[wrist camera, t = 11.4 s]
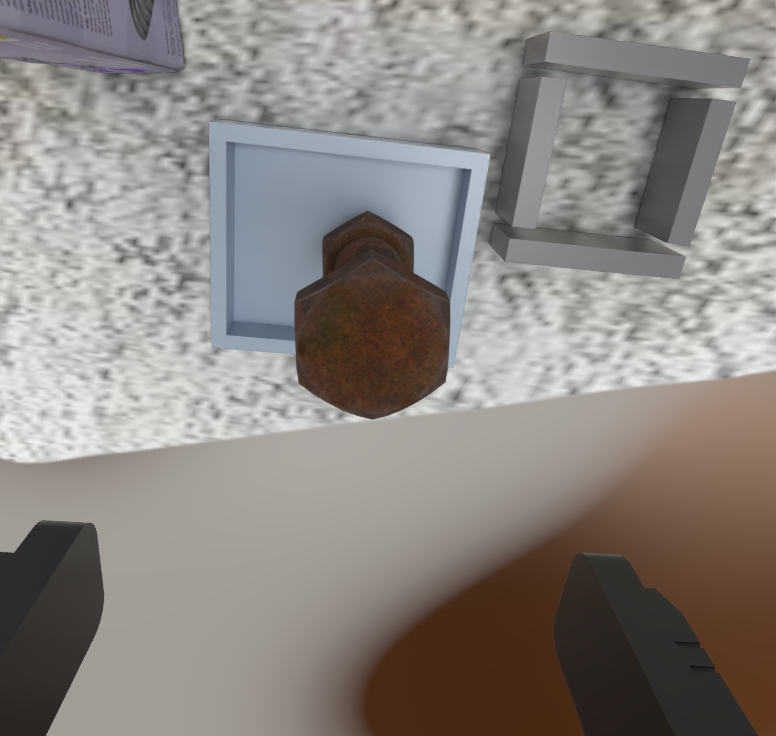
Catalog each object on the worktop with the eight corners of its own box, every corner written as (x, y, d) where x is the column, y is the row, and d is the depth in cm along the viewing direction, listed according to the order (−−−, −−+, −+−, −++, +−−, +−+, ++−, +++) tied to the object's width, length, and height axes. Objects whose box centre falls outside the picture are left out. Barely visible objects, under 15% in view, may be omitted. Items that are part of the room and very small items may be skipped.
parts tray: (479, 149, 32) (490, 154, 29) (446, 347, 37) (453, 367, 34) (222, 119, 31) (209, 121, 28) (222, 328, 35) (211, 347, 33)
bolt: (299, 256, 33) (257, 369, 19) (342, 174, 31) (330, 236, 18) (388, 305, 34) (408, 443, 21) (435, 230, 33) (489, 326, 19)
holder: (703, 62, 31) (750, 58, 27) (645, 260, 35) (678, 279, 31) (527, 39, 30) (550, 31, 26) (489, 244, 34) (505, 261, 30)
